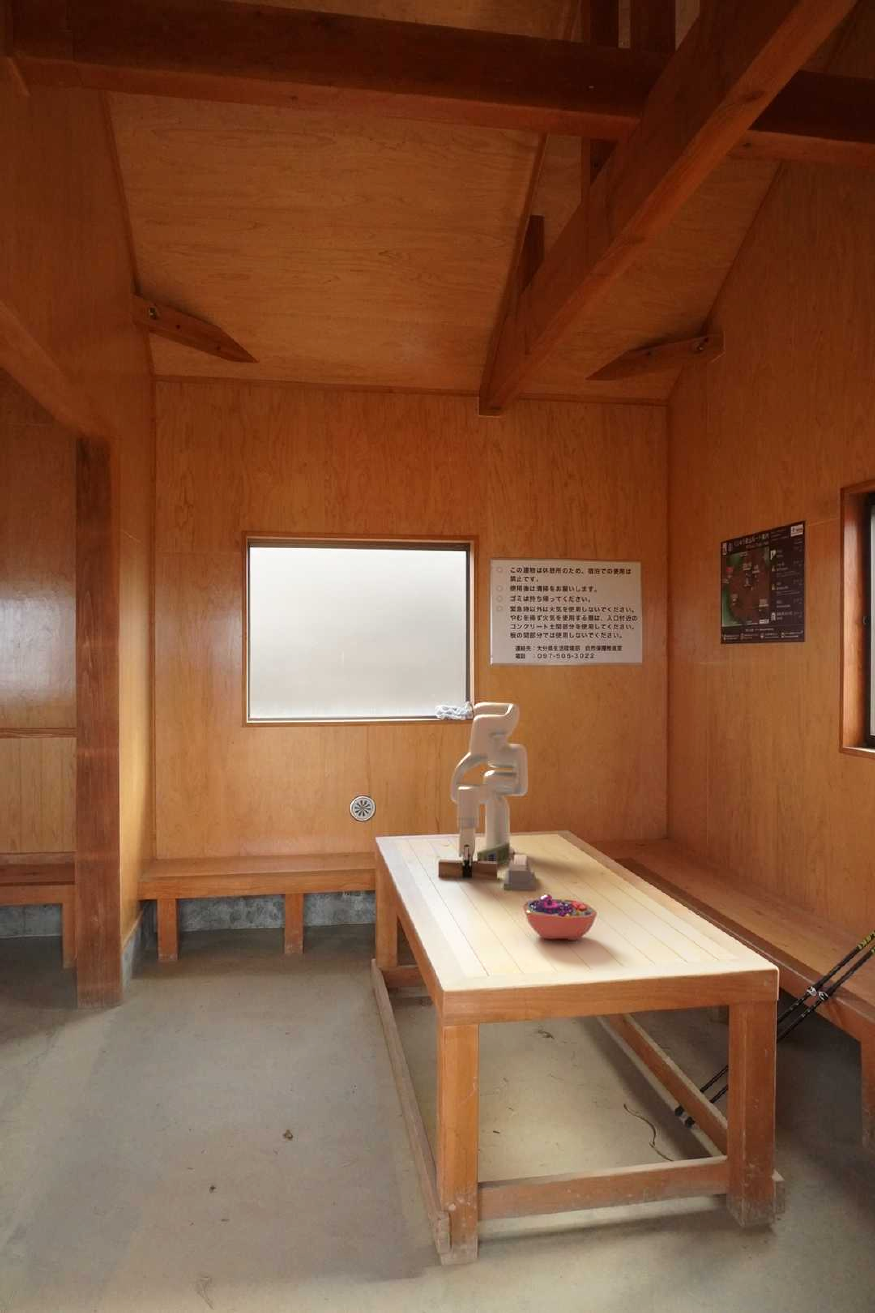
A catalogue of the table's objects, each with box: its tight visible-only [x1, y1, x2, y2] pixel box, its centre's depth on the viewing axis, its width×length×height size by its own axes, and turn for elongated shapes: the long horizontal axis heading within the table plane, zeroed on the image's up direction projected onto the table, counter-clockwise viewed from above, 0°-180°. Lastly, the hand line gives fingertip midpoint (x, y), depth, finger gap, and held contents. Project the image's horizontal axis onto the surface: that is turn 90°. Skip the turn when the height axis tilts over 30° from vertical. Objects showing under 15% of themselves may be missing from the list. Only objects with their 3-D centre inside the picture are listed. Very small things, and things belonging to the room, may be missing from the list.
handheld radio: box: [476, 842, 511, 866], centre depth 299 cm, size 7×3×25 cm
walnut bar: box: [437, 859, 498, 880], centre depth 284 cm, size 4×20×6 cm, turn 83°
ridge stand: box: [503, 854, 536, 892], centre depth 276 cm, size 16×10×8 cm, turn 173°
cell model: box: [522, 893, 598, 941], centre depth 222 cm, size 17×20×11 cm
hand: (467, 874), depth 284 cm, fingers open, 4 cm apart
